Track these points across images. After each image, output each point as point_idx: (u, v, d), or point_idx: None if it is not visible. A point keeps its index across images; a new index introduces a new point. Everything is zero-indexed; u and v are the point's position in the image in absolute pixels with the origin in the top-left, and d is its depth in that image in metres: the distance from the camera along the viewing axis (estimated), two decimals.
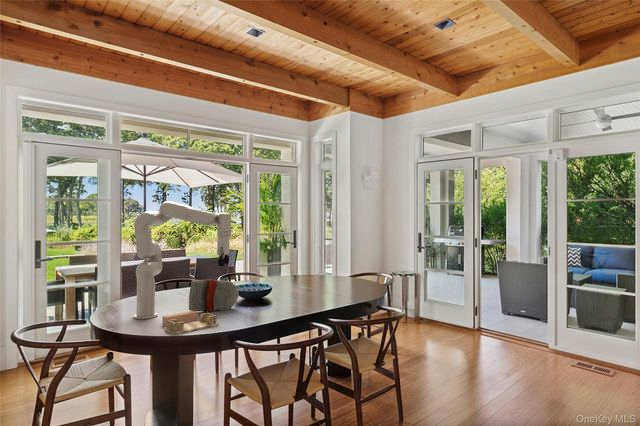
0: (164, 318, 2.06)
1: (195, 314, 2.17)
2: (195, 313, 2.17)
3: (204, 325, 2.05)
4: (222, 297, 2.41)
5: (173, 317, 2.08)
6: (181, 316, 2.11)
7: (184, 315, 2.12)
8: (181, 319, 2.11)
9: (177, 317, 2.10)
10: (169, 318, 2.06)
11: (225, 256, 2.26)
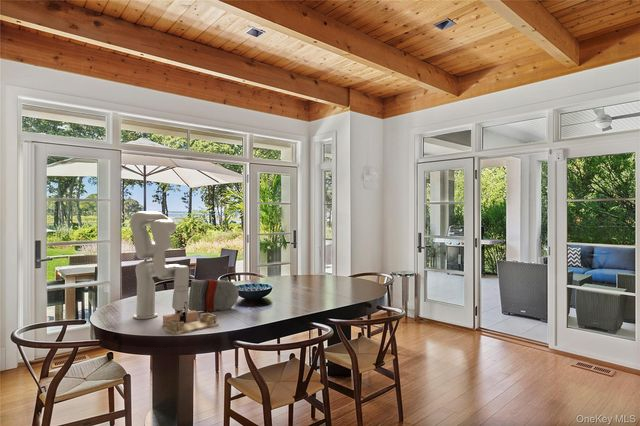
0: (165, 318, 2.06)
1: (195, 313, 2.17)
2: (195, 312, 2.17)
3: (204, 325, 2.05)
4: (222, 297, 2.41)
5: (174, 317, 2.08)
6: None
7: None
8: None
9: (177, 317, 2.09)
10: (170, 318, 2.06)
11: (178, 312, 2.14)
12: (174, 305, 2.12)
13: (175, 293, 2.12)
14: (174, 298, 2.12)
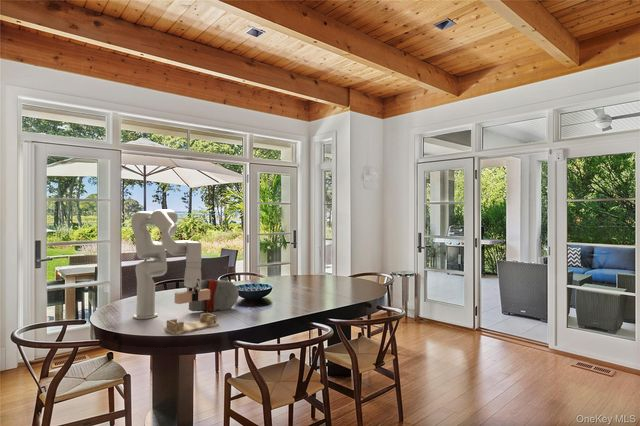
0: (176, 295, 1.98)
1: (208, 292, 2.09)
2: (208, 291, 2.09)
3: (204, 325, 2.05)
4: (222, 297, 2.41)
5: (186, 294, 1.99)
6: None
7: None
8: None
9: (190, 294, 2.01)
10: (182, 295, 1.98)
11: (190, 290, 2.06)
12: (186, 282, 2.04)
13: (187, 270, 2.03)
14: (186, 275, 2.04)
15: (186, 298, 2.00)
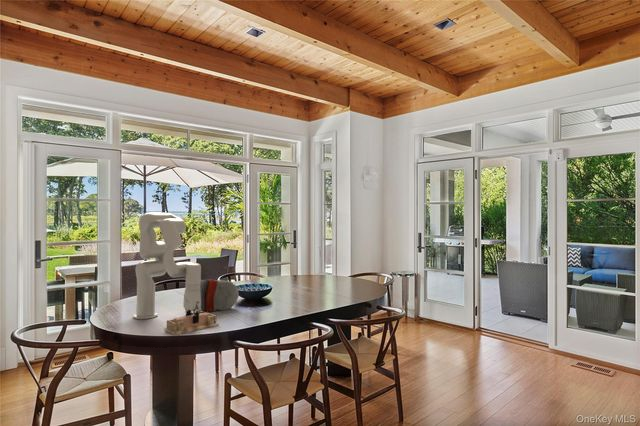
0: (175, 320, 1.98)
1: (207, 316, 2.09)
2: (207, 315, 2.09)
3: (204, 325, 2.05)
4: (222, 297, 2.41)
5: (185, 319, 1.99)
6: None
7: None
8: (192, 321, 2.03)
9: (189, 319, 2.01)
10: (181, 320, 1.98)
11: (189, 312, 2.06)
12: (185, 305, 2.04)
13: (186, 292, 2.03)
14: (185, 297, 2.04)
15: (185, 323, 2.00)
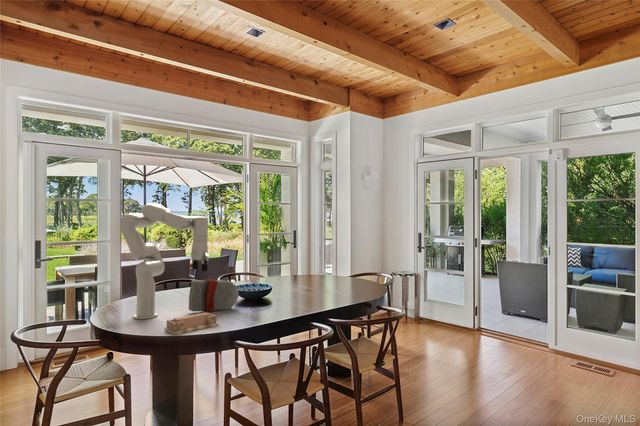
0: (175, 320, 1.98)
1: (207, 316, 2.09)
2: (207, 315, 2.09)
3: (204, 325, 2.05)
4: (222, 297, 2.41)
5: (185, 319, 1.99)
6: (193, 318, 2.03)
7: (196, 317, 2.04)
8: (192, 321, 2.03)
9: (189, 319, 2.01)
10: (181, 320, 1.98)
11: (195, 261, 2.19)
12: (193, 255, 2.15)
13: (194, 243, 2.14)
14: (193, 248, 2.15)
15: (185, 323, 2.00)
